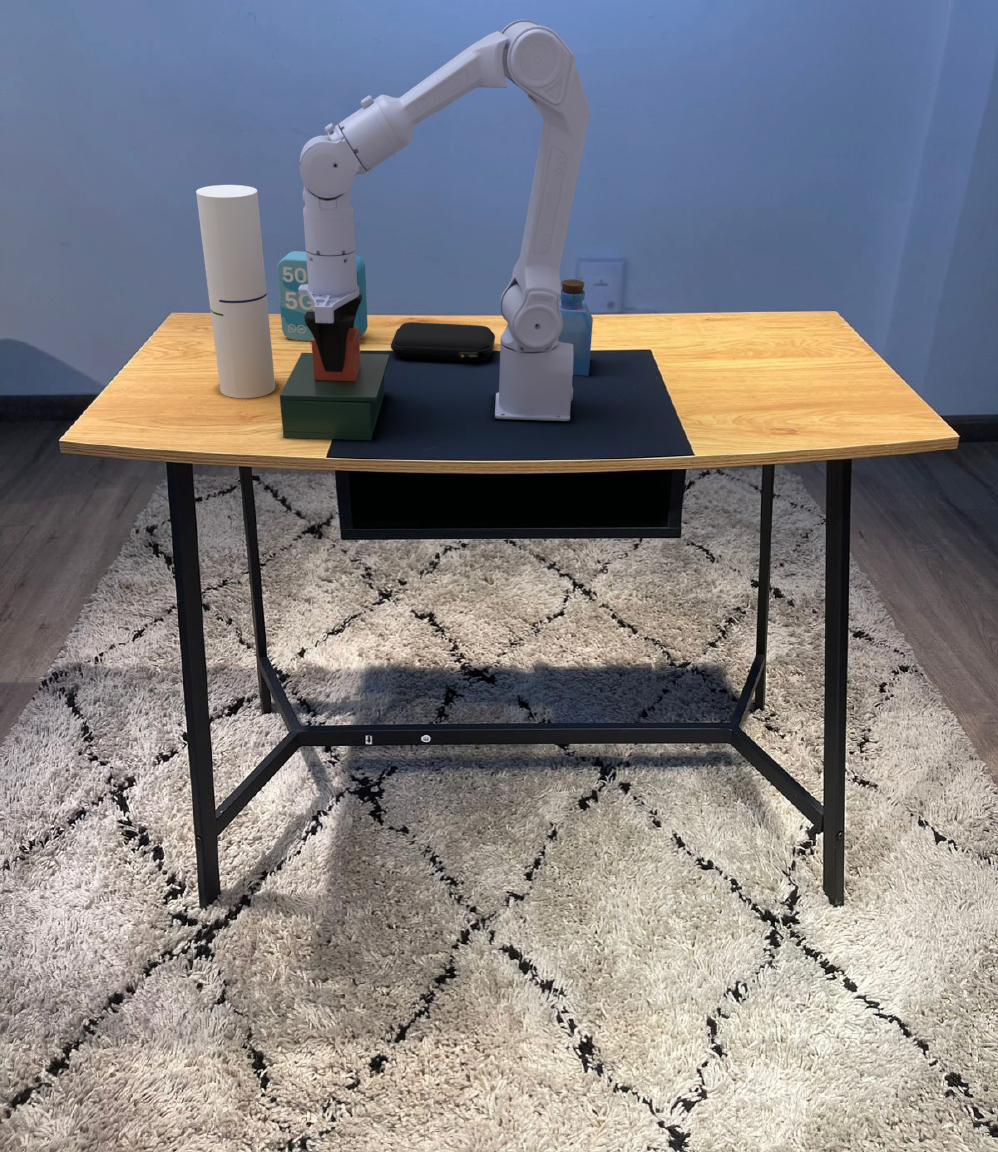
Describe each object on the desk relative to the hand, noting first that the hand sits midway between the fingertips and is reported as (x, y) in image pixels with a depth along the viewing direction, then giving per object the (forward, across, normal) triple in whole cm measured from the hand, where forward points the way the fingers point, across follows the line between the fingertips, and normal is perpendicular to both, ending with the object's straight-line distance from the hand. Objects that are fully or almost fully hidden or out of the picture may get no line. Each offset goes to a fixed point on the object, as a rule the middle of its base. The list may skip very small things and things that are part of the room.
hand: (337, 362), depth 125 cm
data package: (+7, -29, -6) cm, 31 cm away
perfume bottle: (+7, -20, +30) cm, 36 cm away
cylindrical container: (+7, -8, -14) cm, 17 cm away
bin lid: (+2, 0, 0) cm, 2 cm away
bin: (+7, 0, 0) cm, 7 cm away
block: (+1, 0, 0) cm, 1 cm away
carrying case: (+7, -24, +12) cm, 28 cm away
